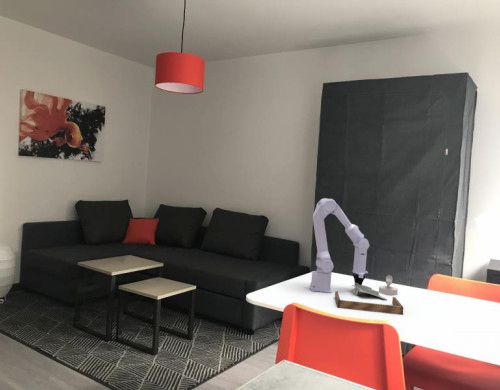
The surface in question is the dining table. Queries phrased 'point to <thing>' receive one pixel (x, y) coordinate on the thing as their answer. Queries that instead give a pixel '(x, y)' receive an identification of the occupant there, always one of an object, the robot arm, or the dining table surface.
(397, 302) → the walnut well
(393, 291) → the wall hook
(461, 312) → the dining table surface
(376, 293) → the metal bracket
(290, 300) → the dining table surface
